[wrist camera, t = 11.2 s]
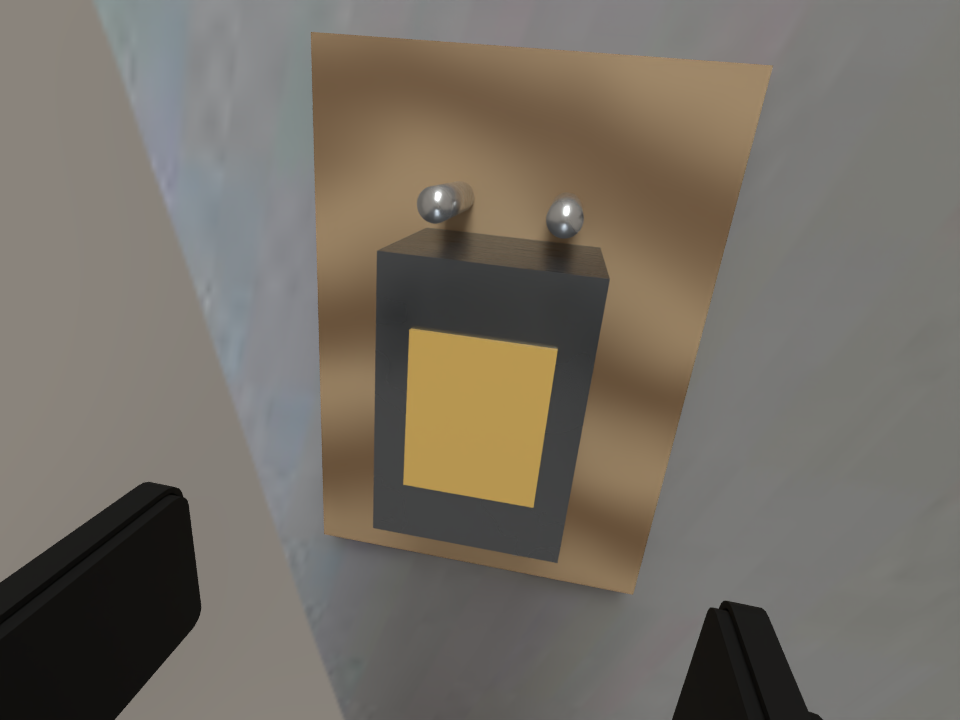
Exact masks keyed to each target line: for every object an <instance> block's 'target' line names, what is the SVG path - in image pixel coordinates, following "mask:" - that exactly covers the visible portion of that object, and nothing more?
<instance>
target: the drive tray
mask: <svg viewBox="0 0 960 720" xmlns="http://www.w3.org/2000/svg"><path fill="white" fill-rule="evenodd" d="M311 54H312V92H313V129H314V167H315V204H316V242H317V279H318V317H319V354H320V392H321V429H322V467H323V504H324V534H326V535H332V536H337V537H342V538H347V539H352V540H357V541H362V542H367V543H372V544H377V545H383V546H388V547H393V548H398V549H403V550H408V551H413V552H418V553H423V554H428V555H434V556H439V557H444V558H449V559H454V560H459V561H464V562H469V563H474V564H479V565H485V566H490V567H495V568H500V569H505V570H510V571H515V572H520V573H525V574H530V575H536V576H541V577H546V578H551V579H556V580H561V581H566V582H571V583H576V584H581V585H587V586H592V587H597V588H602V589H607V590H612V591H617V592H622V593H627V594H633V592H634V589H635V585H636V581H637V577H638V574H639V570H640V566H641V562H642V558H643V555H644V551H645V547H646V543H647V540H648V536H649V532H650V528H651V524H652V521H653V517H654V513H655V509H656V506H657V502H658V498H659V494H660V490H661V487H662V483H663V479H664V475H665V472H666V468H667V464H668V460H669V456H670V453H671V449H672V445H673V441H674V438H675V434H676V430H677V426H678V422H679V419H680V415H681V411H682V407H683V404H684V400H685V396H686V392H687V388H688V385H689V381H690V377H691V373H692V370H693V366H694V362H695V358H696V354H697V351H698V347H699V343H700V339H701V336H702V332H703V328H704V324H705V320H706V317H707V313H708V309H709V305H710V302H711V298H712V294H713V290H714V286H715V283H716V279H717V275H718V271H719V268H720V264H721V260H722V256H723V252H724V249H725V245H726V241H727V237H728V234H729V230H730V226H731V222H732V218H733V215H734V211H735V207H736V203H737V200H738V196H739V192H740V188H741V184H742V181H743V177H744V173H745V169H746V166H747V162H748V158H749V154H750V150H751V147H752V143H753V139H754V135H755V132H756V128H757V124H758V120H759V116H760V113H761V109H762V105H763V101H764V98H765V94H766V90H767V86H768V82H769V79H770V75H771V71H772V67H773V66H771V65H757V64H743V63H730V62H716V61H702V60H688V59H675V58H661V57H647V56H633V55H620V54H606V53H592V52H578V51H565V50H551V49H537V48H523V47H510V46H496V45H482V44H468V43H455V42H441V41H427V40H413V39H400V38H386V37H372V36H358V35H344V34H331V33H317V32H311ZM425 228H436V229H444V230H453V231H462V232H470V233H479V234H488V235H496V236H505V237H514V238H522V239H531V240H540V241H549V242H557V243H566V244H575V245H583V246H592V247H600V248H601V251H602V254H603V258H604V261H605V264H606V268H607V271H608V274H609V278H610V282H609V287H608V292H607V298H606V303H605V309H604V314H603V320H602V325H601V330H600V336H599V341H598V347H597V352H596V358H595V363H594V368H593V374H592V379H591V385H590V390H589V395H588V401H587V406H586V412H585V417H584V423H583V428H582V433H581V439H580V444H579V450H578V455H577V461H576V466H575V471H574V477H573V482H572V488H571V493H570V498H569V504H568V509H567V515H566V520H565V526H564V531H563V536H562V542H561V547H560V553H559V558H558V563H554V562H549V561H544V560H538V559H533V558H528V557H522V556H517V555H512V554H507V553H501V552H496V551H491V550H486V549H480V548H475V547H470V546H465V545H459V544H454V543H449V542H444V541H438V540H433V539H428V538H423V537H417V536H412V535H407V534H402V533H396V532H391V531H386V530H381V529H375V528H373V488H374V418H375V347H376V276H377V250H379V249H381V248H384V247H386V246H388V245H390V244H392V243H394V242H396V241H399V240H401V239H403V238H405V237H407V236H409V235H412V234H414V233H416V232H418V231H420V230H422V229H425Z"/></svg>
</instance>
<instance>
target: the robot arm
mask: <svg viewBox="0 0 960 720" xmlns="http://www.w3.org/2000/svg"><path fill="white" fill-rule="evenodd" d="M200 612H201V600H200V592H199V585H198V577H197V568H196V560H195V552H194V544H193V536H192V528H191V520H190V512H189V504H188V501H187V499H185V498H184V497H183V495H182V492H181V490H180V489H179V488H175V487H172V486H167V485H162V484H157V483H152V482H145V483H142V484H141V485H139V486H137V487H136V488H134V489H133V490H132V491H130V492H129V493H127V494H126V495H124V496H123V497H121V498H120V499H119V500H117V501H116V502H114V503H113V504H111V505H110V506H109V507H107V508H106V509H104V510H103V511H101V512H100V513H99V514H97V515H96V516H94V517H93V518H92V519H90V520H89V521H88V522H86V523H84V524H83V525H82V526H80V527H79V528H77V529H76V530H75V531H73V532H72V533H70V534H69V535H68V536H66V537H64V538H63V539H62V540H60V541H59V542H57V543H56V544H55V545H53V546H52V547H50V548H49V549H47V550H46V551H45V552H43V553H42V554H40V555H39V556H37V557H36V558H35V559H33V560H32V561H30V562H29V563H28V564H26V565H25V566H23V567H22V568H20V569H19V570H18V571H16V572H15V573H13V574H12V575H11V576H9V577H8V578H6V579H5V580H3V581H2V582H0V720H115V718H116V717H117V716H118V715H119V714H120V713H121V712H122V710H123V709H124V708H125V707H126V706H127V705H128V703H129V702H130V701H131V700H132V699H133V698H134V696H135V695H136V694H137V693H138V692H139V691H140V689H141V688H142V687H143V686H144V685H145V684H146V682H147V681H148V680H149V679H150V678H151V677H152V675H153V674H154V673H155V672H156V671H157V670H158V668H159V667H160V666H161V665H162V664H163V663H164V661H165V660H166V659H167V658H168V657H169V656H170V654H171V653H172V652H173V651H174V650H175V649H176V647H177V646H178V645H179V644H180V643H181V641H182V640H183V639H184V638H185V637H186V636H187V635H188V633H189V632H190V631H191V630H192V629H193V627H194V626H195V624H196V622H197V620H198V618H199V616H200ZM672 720H823V719H822V718H821V717H820V716H819V715H817V714H814V713H812V712H808V710H807V707H806V705H805V702H804V700H803V698H802V695H801V693H800V691H799V688H798V686H797V683H796V681H795V679H794V676H793V674H792V671H791V669H790V667H789V664H788V662H787V660H786V657H785V655H784V652H783V650H782V648H781V645H780V643H779V641H778V638H777V636H776V633H775V631H774V629H773V626H772V624H771V622H770V619H769V617H768V615H767V613H766V611H765V610H763V609H762V608H759V607H754V606H749V605H745V604H740V603H735V602H730V601H723V602H722V603H721V605H720V607H719V609H717V608H710V609H709V610H708V612H707V614H706V617H705V620H704V624H703V627H702V630H701V633H700V636H699V639H698V642H697V645H696V648H695V651H694V654H693V657H692V660H691V663H690V666H689V669H688V673H687V676H686V679H685V682H684V685H683V688H682V691H681V694H680V697H679V700H678V703H677V706H676V709H675V712H674V715H673V719H672Z"/></svg>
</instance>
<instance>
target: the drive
mask: <svg viewBox="0 0 960 720" xmlns="http://www.w3.org/2000/svg"><path fill="white" fill-rule="evenodd" d="M609 282H610V278H609V274H608V271H607V268H606V264H605V261H604V258H603V254H602V251H601V248H600V247H592V246H583V245H575V244H566V243H557V242H549V241H540V240H531V239H522V238H514V237H505V236H496V235H488V234H479V233H470V232H462V231H453V230H444V229H436V228H425V229H422V230H420V231H418V232H416V233H414V234H412V235H409V236H407V237H405V238H403V239H401V240H399V241H396V242H394V243H392V244H390V245H388V246H386V247H384V248H381V249H379V250H377V276H376V347H375V418H374V488H373V528H375V529H381V530H386V531H391V532H396V533H402V534H407V535H412V536H417V537H423V538H428V539H433V540H438V541H444V542H449V543H454V544H459V545H465V546H470V547H475V548H480V549H486V550H491V551H496V552H501V553H507V554H512V555H517V556H522V557H528V558H533V559H538V560H544V561H549V562H554V563H558V558H559V553H560V547H561V542H562V536H563V531H564V526H565V520H566V515H567V509H568V504H569V498H570V493H571V488H572V482H573V477H574V471H575V466H576V461H577V455H578V450H579V444H580V439H581V433H582V428H583V423H584V417H585V412H586V406H587V401H588V395H589V390H590V385H591V379H592V374H593V368H594V363H595V358H596V352H597V347H598V341H599V336H600V330H601V325H602V320H603V314H604V309H605V303H606V298H607V292H608V287H609Z"/></svg>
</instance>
